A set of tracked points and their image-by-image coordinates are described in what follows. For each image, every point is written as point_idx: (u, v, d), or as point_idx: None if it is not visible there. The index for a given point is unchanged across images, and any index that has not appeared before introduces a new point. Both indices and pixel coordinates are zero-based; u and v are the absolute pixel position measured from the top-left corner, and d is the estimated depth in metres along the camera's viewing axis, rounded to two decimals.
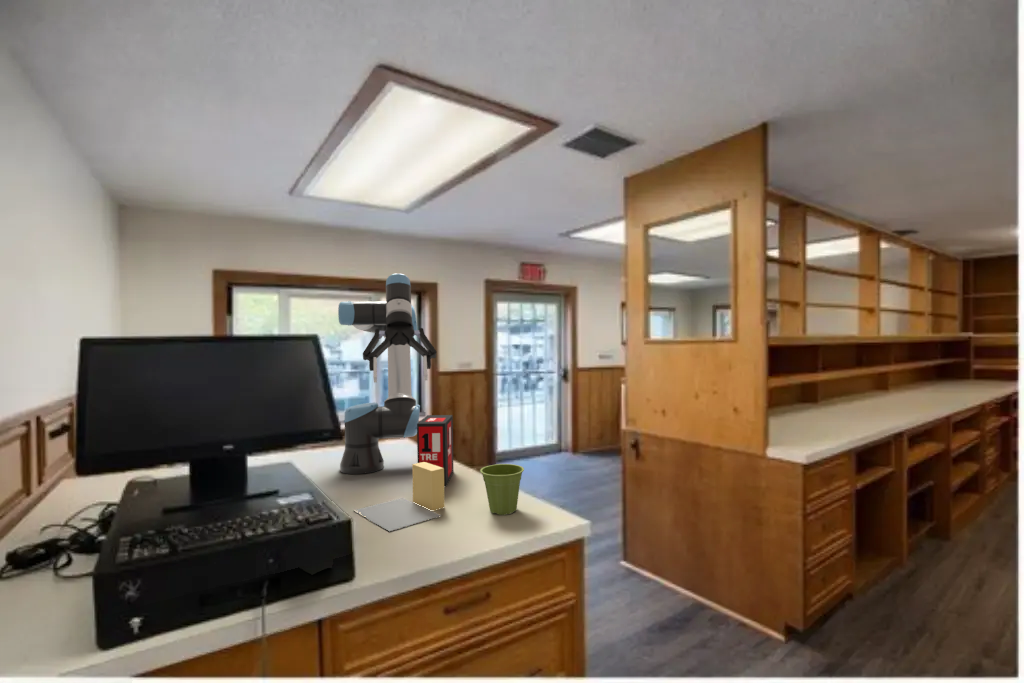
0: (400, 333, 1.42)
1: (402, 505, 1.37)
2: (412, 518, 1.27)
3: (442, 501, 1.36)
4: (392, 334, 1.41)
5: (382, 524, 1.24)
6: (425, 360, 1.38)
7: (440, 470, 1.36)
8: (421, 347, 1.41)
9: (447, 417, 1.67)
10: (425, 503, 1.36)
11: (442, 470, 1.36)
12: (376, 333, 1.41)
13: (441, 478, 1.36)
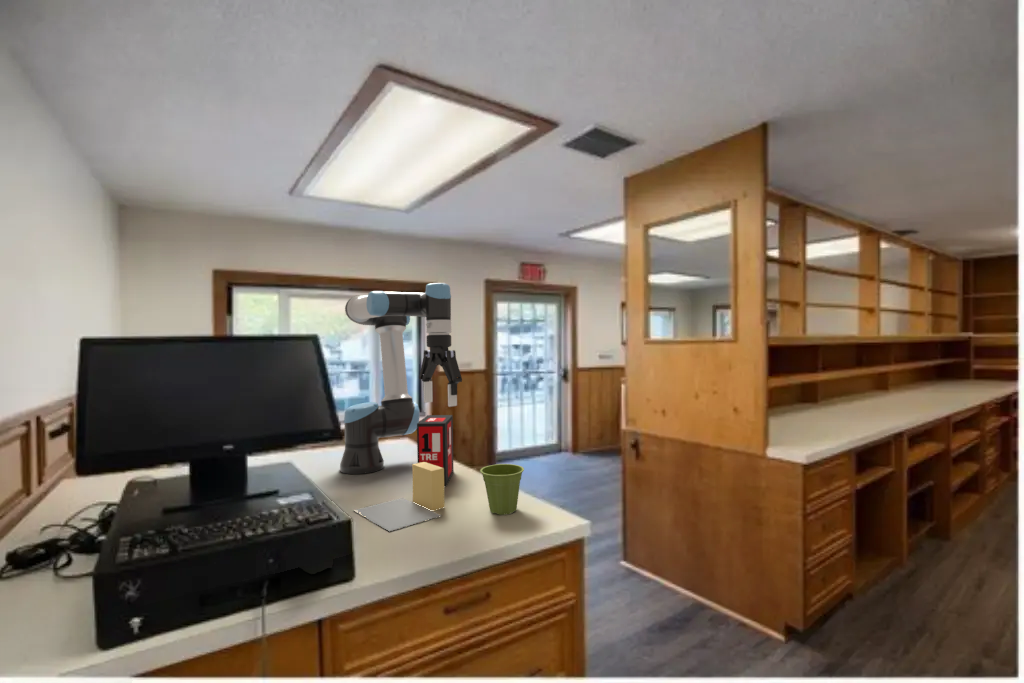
0: None
1: (402, 505, 1.37)
2: (412, 518, 1.27)
3: (442, 501, 1.36)
4: (430, 358, 1.51)
5: (382, 524, 1.24)
6: (448, 389, 1.45)
7: (440, 470, 1.36)
8: (447, 374, 1.46)
9: (447, 417, 1.67)
10: (425, 503, 1.36)
11: (442, 470, 1.36)
12: (424, 355, 1.55)
13: (441, 478, 1.36)
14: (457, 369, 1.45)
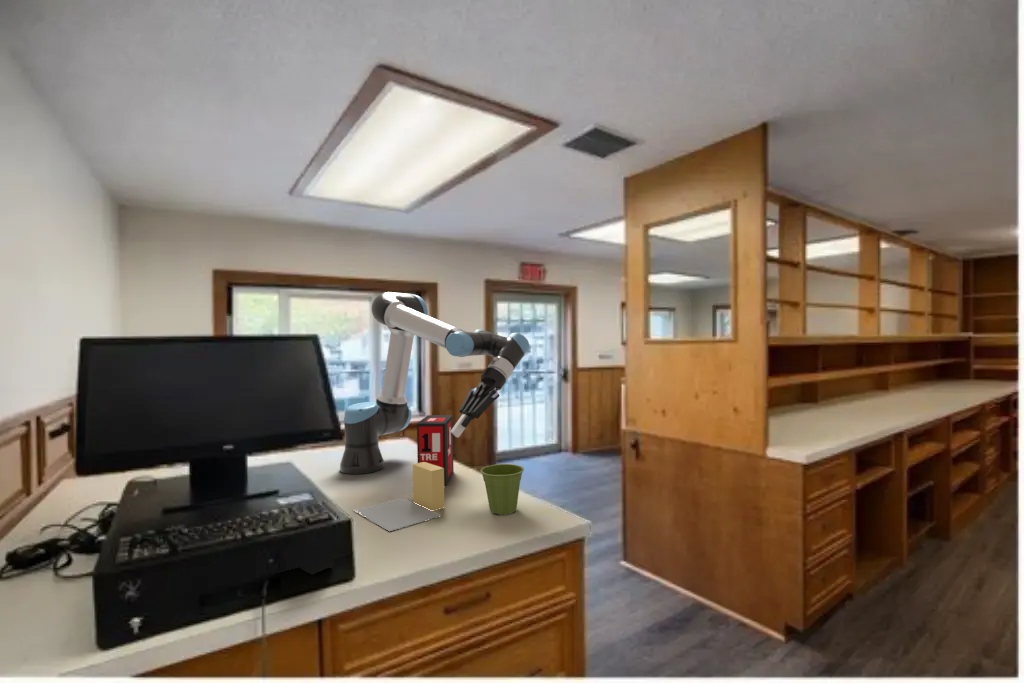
0: None
1: (402, 505, 1.37)
2: (412, 518, 1.27)
3: (442, 501, 1.36)
4: (478, 388, 1.52)
5: (382, 524, 1.24)
6: (461, 418, 1.46)
7: (440, 470, 1.36)
8: (473, 405, 1.48)
9: (447, 417, 1.67)
10: (425, 503, 1.36)
11: (442, 470, 1.36)
12: (469, 391, 1.55)
13: (441, 478, 1.36)
14: (484, 408, 1.47)
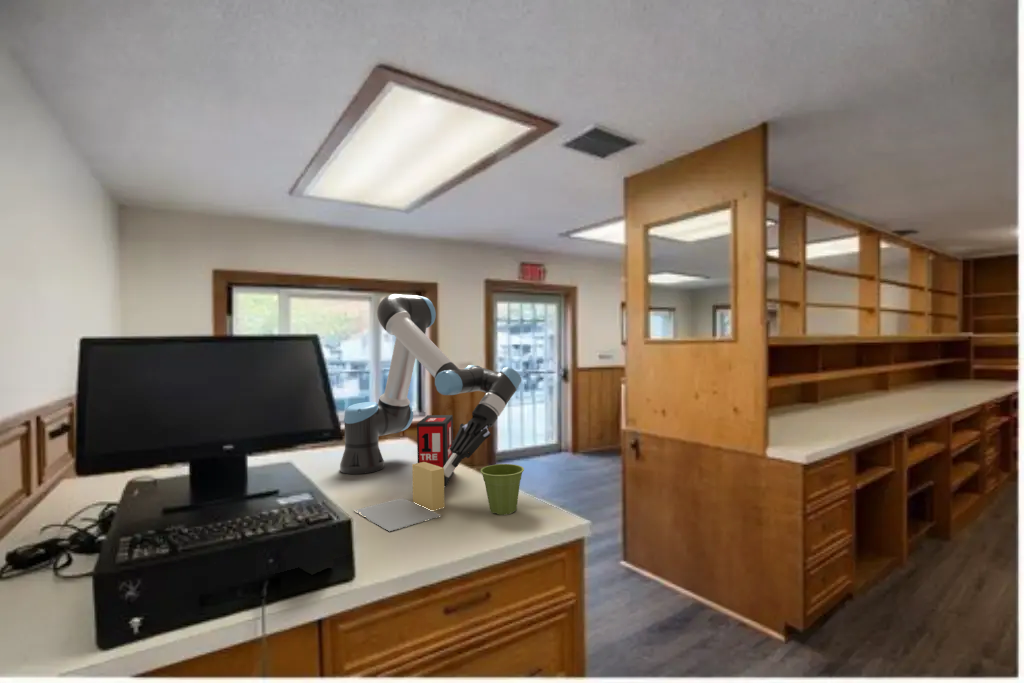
0: None
1: (402, 505, 1.37)
2: (412, 518, 1.27)
3: (442, 501, 1.36)
4: (469, 426, 1.50)
5: (382, 524, 1.24)
6: (452, 458, 1.44)
7: (440, 470, 1.36)
8: (464, 444, 1.46)
9: (447, 417, 1.67)
10: (425, 503, 1.36)
11: (442, 470, 1.36)
12: (460, 427, 1.53)
13: (441, 478, 1.36)
14: (475, 447, 1.45)
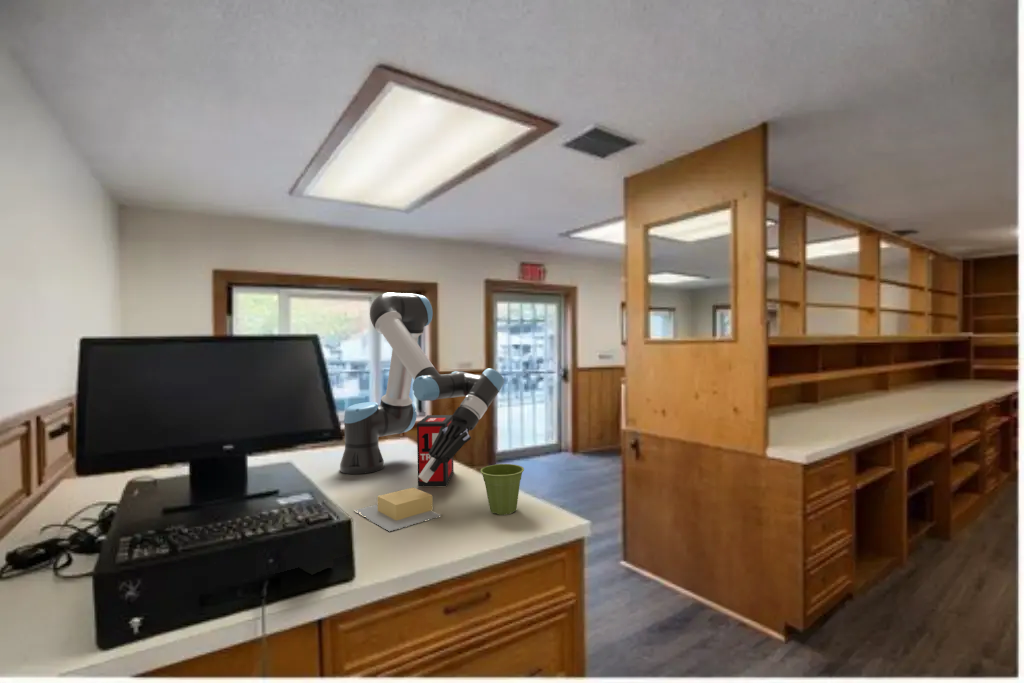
0: None
1: None
2: (412, 518, 1.27)
3: (426, 499, 1.33)
4: (448, 429, 1.45)
5: (382, 524, 1.24)
6: (430, 462, 1.39)
7: (397, 509, 1.27)
8: (443, 448, 1.41)
9: (447, 417, 1.67)
10: None
11: (397, 506, 1.27)
12: (440, 431, 1.48)
13: (405, 505, 1.28)
14: (454, 451, 1.39)
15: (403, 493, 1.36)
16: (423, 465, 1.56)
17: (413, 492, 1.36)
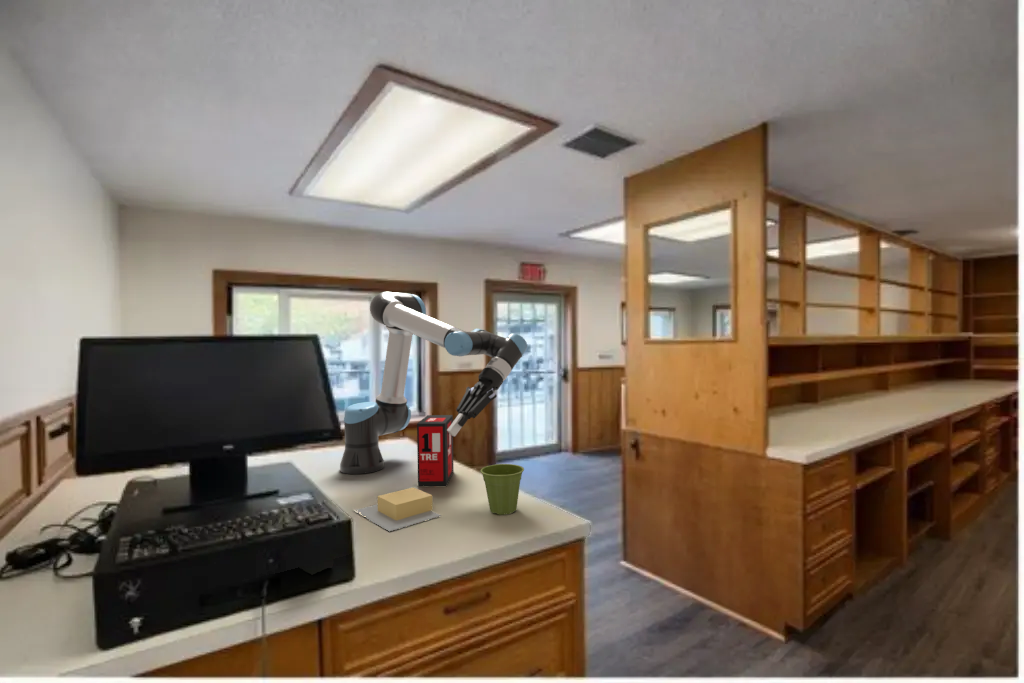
0: None
1: None
2: (412, 518, 1.27)
3: (426, 499, 1.33)
4: (475, 388, 1.54)
5: (382, 524, 1.24)
6: (458, 417, 1.48)
7: (397, 509, 1.27)
8: (470, 405, 1.49)
9: (447, 417, 1.67)
10: None
11: (397, 506, 1.27)
12: (467, 390, 1.56)
13: (405, 505, 1.28)
14: (481, 408, 1.48)
15: (403, 493, 1.36)
16: (423, 465, 1.56)
17: (413, 492, 1.36)
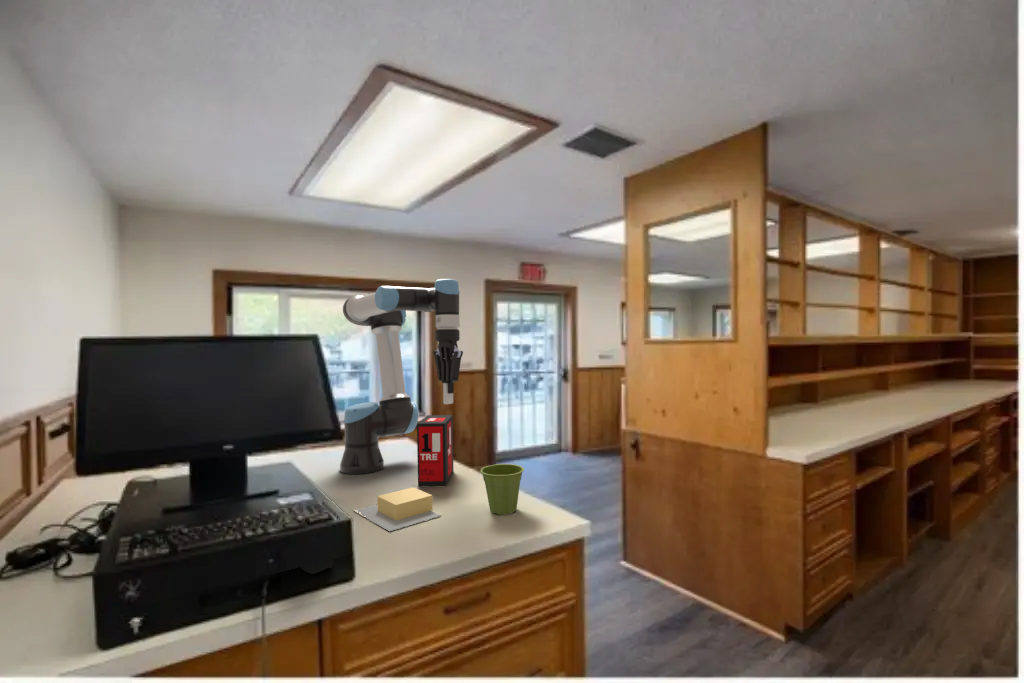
0: (445, 347, 1.54)
1: None
2: (412, 518, 1.27)
3: (426, 499, 1.33)
4: (440, 353, 1.55)
5: (382, 524, 1.24)
6: (445, 388, 1.54)
7: (397, 509, 1.27)
8: (447, 372, 1.54)
9: (447, 417, 1.67)
10: None
11: (397, 506, 1.27)
12: (435, 355, 1.58)
13: (405, 505, 1.28)
14: (457, 370, 1.53)
15: (403, 493, 1.36)
16: (423, 465, 1.56)
17: (413, 492, 1.36)
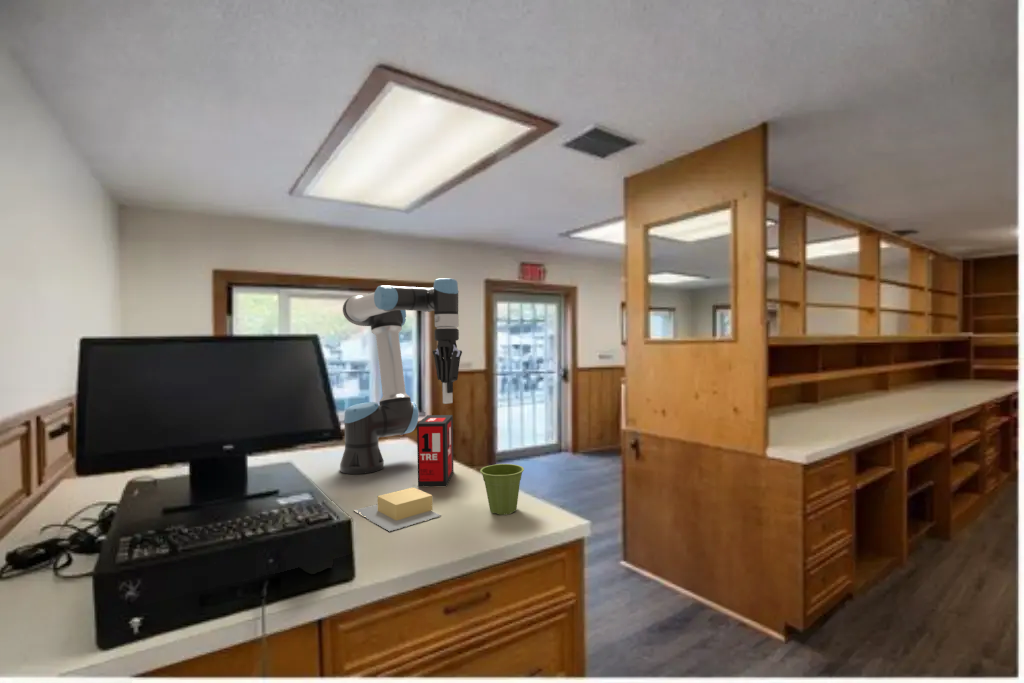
0: (444, 347, 1.54)
1: None
2: (412, 518, 1.27)
3: (426, 499, 1.33)
4: (440, 352, 1.55)
5: (382, 524, 1.24)
6: (444, 388, 1.54)
7: (397, 509, 1.27)
8: (446, 371, 1.53)
9: (447, 417, 1.67)
10: None
11: (397, 506, 1.27)
12: (434, 355, 1.58)
13: (405, 505, 1.28)
14: (457, 369, 1.52)
15: (403, 493, 1.36)
16: (423, 465, 1.56)
17: (413, 492, 1.36)
